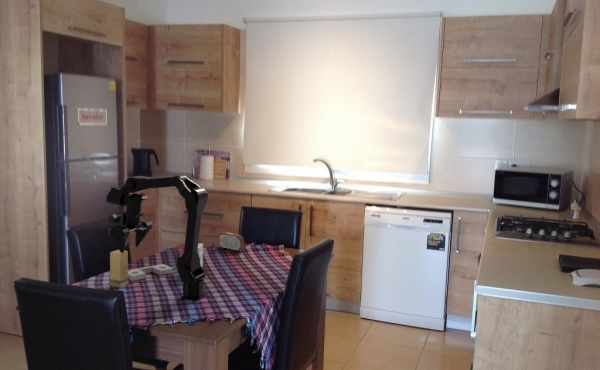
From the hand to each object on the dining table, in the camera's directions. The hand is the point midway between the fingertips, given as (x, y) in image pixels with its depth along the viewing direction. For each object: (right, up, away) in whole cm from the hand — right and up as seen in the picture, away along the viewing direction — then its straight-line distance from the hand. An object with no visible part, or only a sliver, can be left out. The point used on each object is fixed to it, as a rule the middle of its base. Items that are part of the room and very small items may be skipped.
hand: (129, 250), depth 199 cm
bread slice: (+30, -8, +63) cm, 70 cm away
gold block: (-5, -14, +3) cm, 15 cm away
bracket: (+2, -12, +18) cm, 22 cm away
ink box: (+20, -13, +22) cm, 33 cm away
